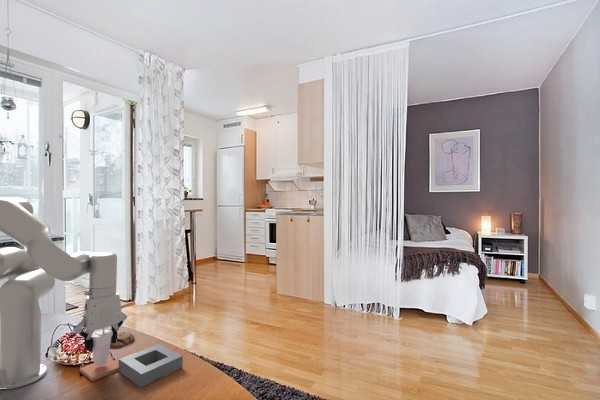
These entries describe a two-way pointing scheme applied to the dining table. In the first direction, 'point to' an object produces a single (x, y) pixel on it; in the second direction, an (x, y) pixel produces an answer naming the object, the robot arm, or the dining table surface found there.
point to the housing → (143, 374)
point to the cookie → (122, 340)
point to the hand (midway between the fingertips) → (101, 345)
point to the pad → (99, 369)
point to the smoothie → (101, 346)
